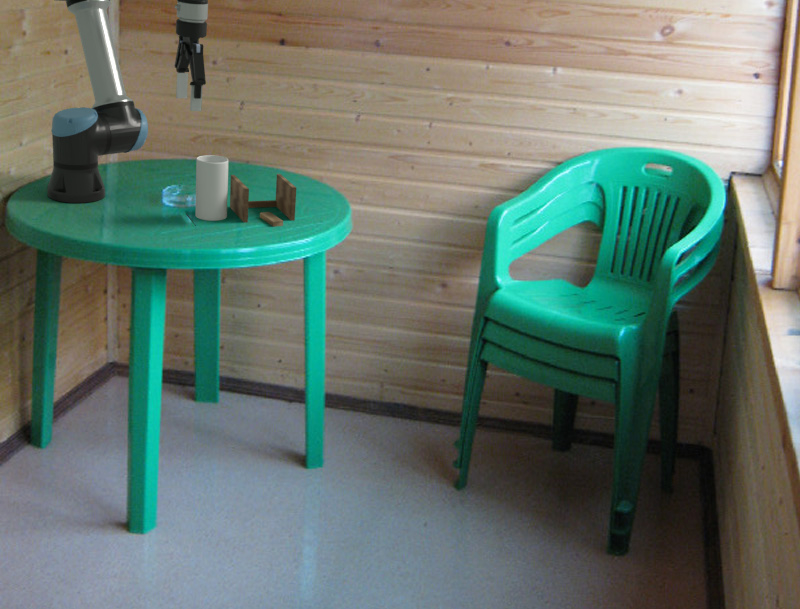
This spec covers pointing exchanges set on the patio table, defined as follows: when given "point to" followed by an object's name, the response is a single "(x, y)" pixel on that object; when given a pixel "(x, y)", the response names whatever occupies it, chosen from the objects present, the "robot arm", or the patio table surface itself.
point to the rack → (283, 201)
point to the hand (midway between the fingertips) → (188, 104)
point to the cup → (211, 187)
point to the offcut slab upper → (271, 219)
